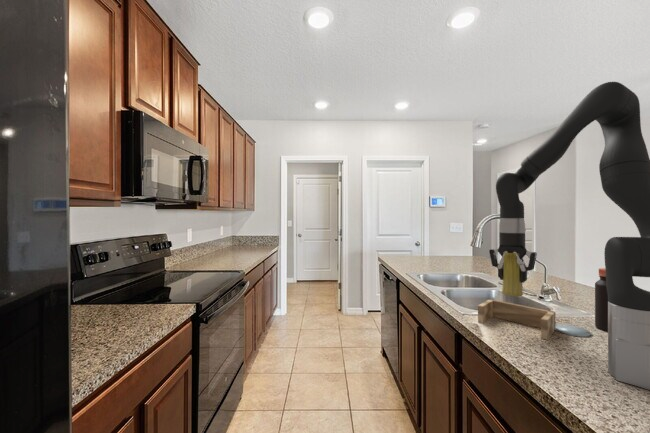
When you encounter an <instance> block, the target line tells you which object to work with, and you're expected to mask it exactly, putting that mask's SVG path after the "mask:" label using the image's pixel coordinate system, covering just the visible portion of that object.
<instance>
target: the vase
mask: <svg viewBox="0 0 650 433" xmlns="http://www.w3.org/2000/svg"><path fill="white" fill-rule="evenodd" d="M503 254H504V252H503ZM517 254H518V255H519V253H517ZM517 259H518V258H517V256H516V253H506V252H505V255H504V264H503V280H502V288H501V293H502V294H503V295H506V296H510V297H511V296H512V297H522V296H524V293H523V283H521V271H522V270H521V268H520V266H519V265H518V263H517Z"/></svg>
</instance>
